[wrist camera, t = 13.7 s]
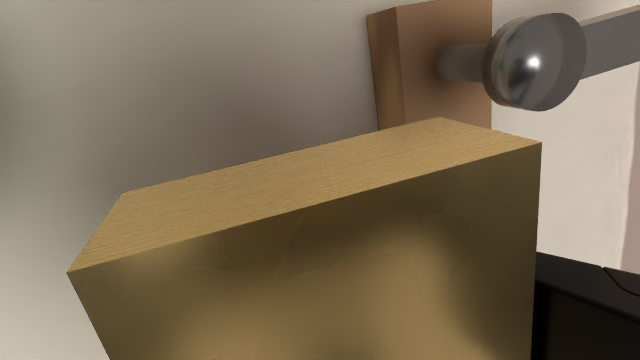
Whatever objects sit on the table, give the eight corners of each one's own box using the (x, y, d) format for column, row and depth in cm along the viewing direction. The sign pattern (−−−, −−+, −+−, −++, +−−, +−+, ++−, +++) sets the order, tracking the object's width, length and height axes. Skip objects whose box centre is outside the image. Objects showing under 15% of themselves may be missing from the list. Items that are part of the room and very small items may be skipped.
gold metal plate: (451, 371, 10) (524, 467, 7) (229, 461, 9) (234, 608, 6) (437, 116, 7) (542, 142, 5) (122, 193, 6) (66, 271, 4)
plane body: (459, 307, 24) (539, 388, 18) (400, 328, 24) (464, 420, 18) (448, 1, 18) (570, -29, 12) (366, 15, 17) (451, -9, 11)
